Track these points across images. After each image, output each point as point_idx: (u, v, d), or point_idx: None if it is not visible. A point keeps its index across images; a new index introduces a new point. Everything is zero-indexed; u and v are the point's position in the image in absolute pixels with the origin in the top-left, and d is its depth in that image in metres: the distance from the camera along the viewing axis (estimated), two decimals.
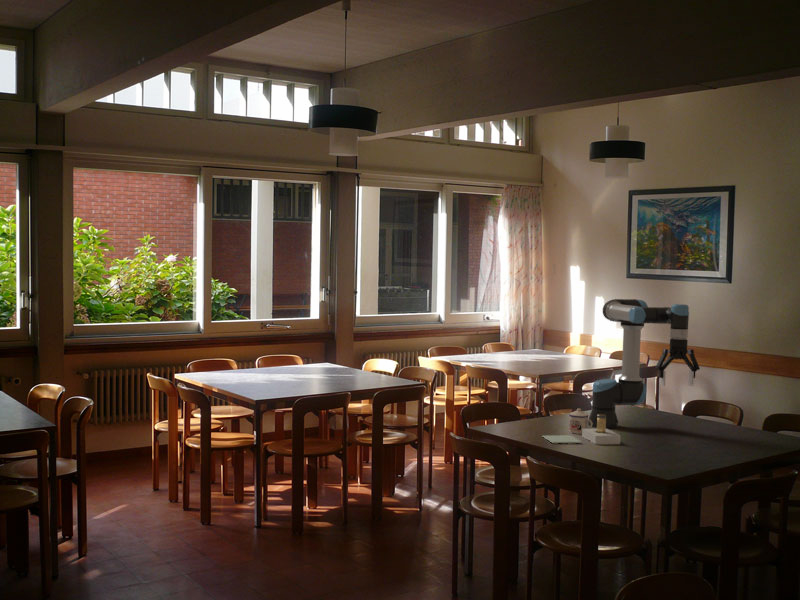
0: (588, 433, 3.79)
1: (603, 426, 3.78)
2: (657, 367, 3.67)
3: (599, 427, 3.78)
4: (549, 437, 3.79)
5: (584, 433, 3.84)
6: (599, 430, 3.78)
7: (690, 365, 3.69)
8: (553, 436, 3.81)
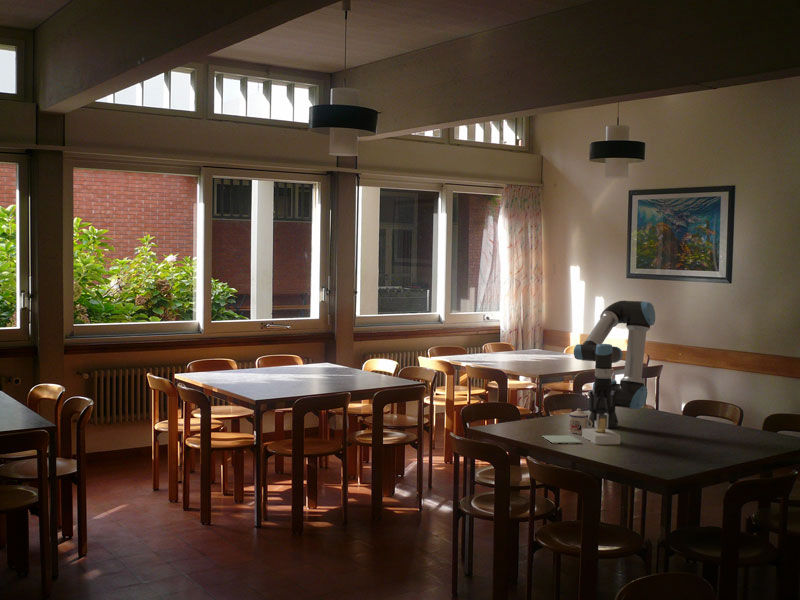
0: (588, 433, 3.79)
1: (603, 426, 3.78)
2: (590, 411, 3.78)
3: (599, 427, 3.78)
4: (549, 437, 3.79)
5: (584, 433, 3.84)
6: (599, 430, 3.78)
7: (607, 406, 3.79)
8: (553, 436, 3.81)
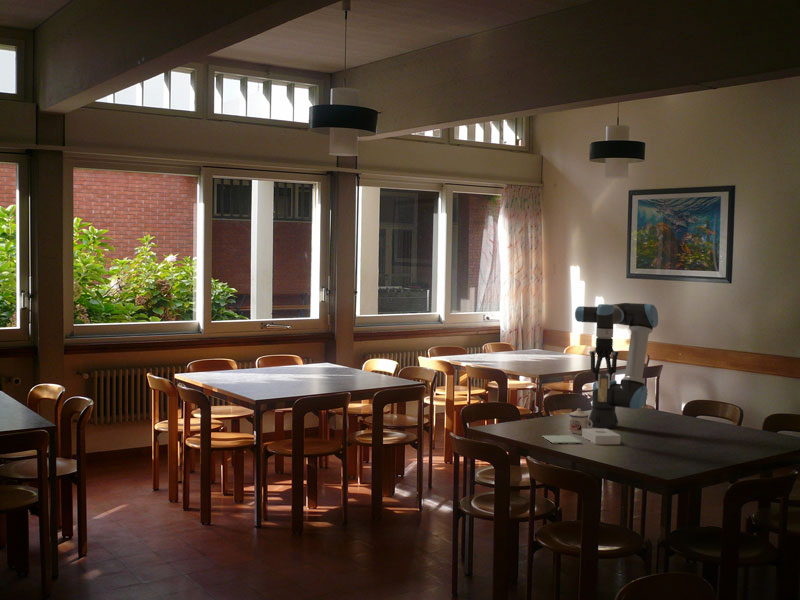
0: (588, 433, 3.79)
1: (604, 386, 3.77)
2: (592, 371, 3.77)
3: (600, 387, 3.77)
4: (549, 437, 3.79)
5: (584, 433, 3.84)
6: (600, 390, 3.77)
7: (609, 366, 3.78)
8: (553, 436, 3.81)
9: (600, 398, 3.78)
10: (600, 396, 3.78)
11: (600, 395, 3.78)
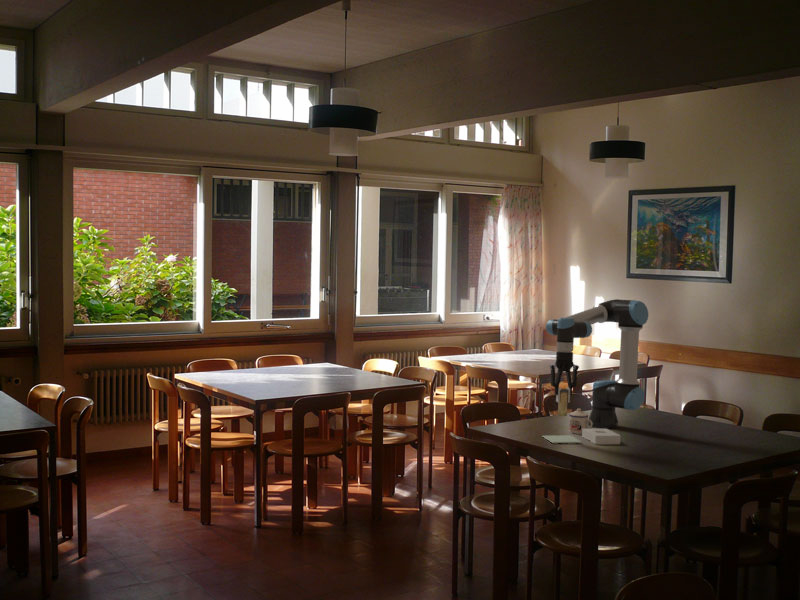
0: (588, 433, 3.79)
1: (565, 400, 3.74)
2: (552, 385, 3.74)
3: (561, 401, 3.75)
4: (549, 437, 3.79)
5: (584, 433, 3.84)
6: (560, 404, 3.75)
7: (569, 380, 3.75)
8: (553, 436, 3.81)
9: (560, 412, 3.75)
10: (560, 410, 3.75)
11: (560, 409, 3.75)
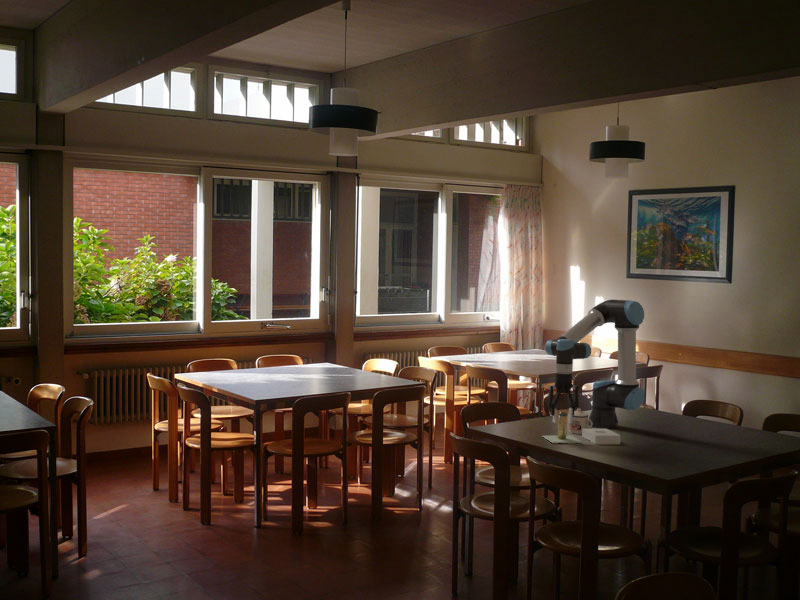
0: (588, 433, 3.79)
1: (564, 424, 3.75)
2: (548, 405, 3.75)
3: (560, 425, 3.75)
4: (549, 437, 3.79)
5: (584, 433, 3.84)
6: (560, 428, 3.75)
7: (571, 401, 3.76)
8: (553, 436, 3.81)
9: (559, 436, 3.75)
10: (559, 434, 3.75)
11: (560, 433, 3.75)
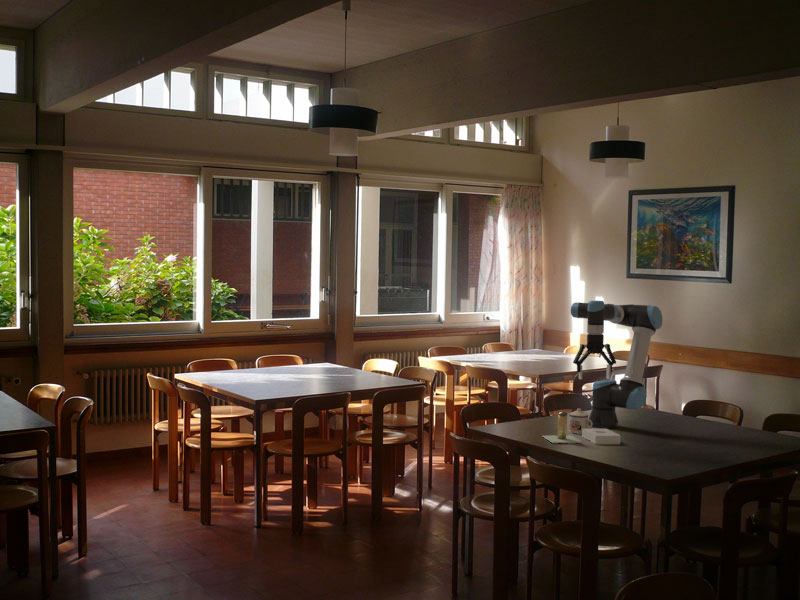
0: (588, 433, 3.79)
1: (564, 424, 3.75)
2: (574, 362, 3.80)
3: (560, 425, 3.75)
4: (549, 437, 3.79)
5: (584, 433, 3.84)
6: (560, 428, 3.75)
7: (607, 359, 3.82)
8: (553, 436, 3.81)
9: (559, 436, 3.75)
10: (559, 434, 3.75)
11: (559, 433, 3.75)
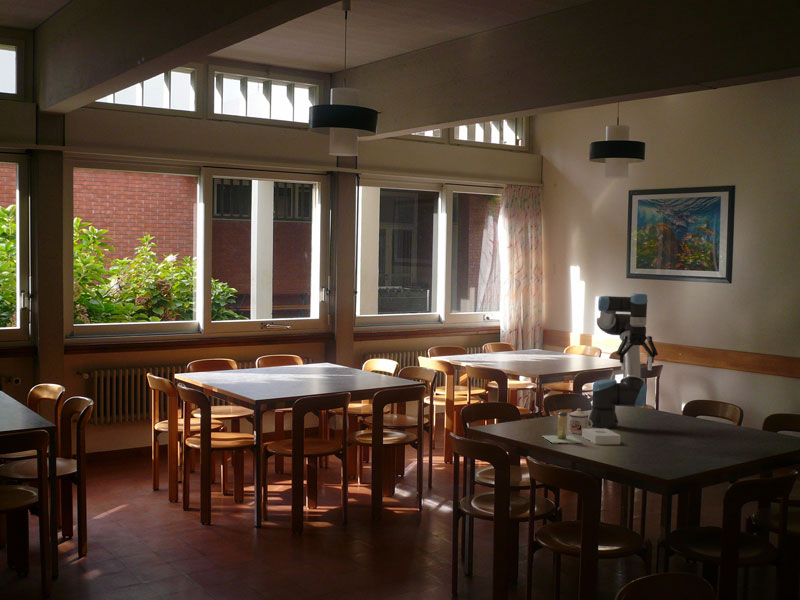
0: (588, 433, 3.79)
1: (564, 424, 3.75)
2: (617, 353, 3.89)
3: (560, 425, 3.75)
4: (549, 437, 3.79)
5: (584, 433, 3.84)
6: (560, 428, 3.75)
7: (649, 351, 3.91)
8: (553, 436, 3.81)
9: (559, 436, 3.75)
10: (559, 434, 3.75)
11: (559, 433, 3.75)
